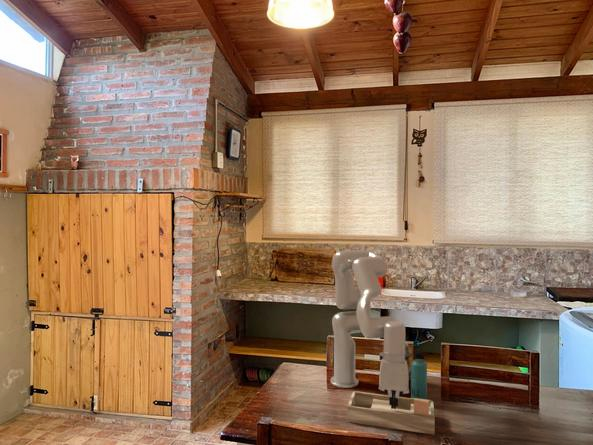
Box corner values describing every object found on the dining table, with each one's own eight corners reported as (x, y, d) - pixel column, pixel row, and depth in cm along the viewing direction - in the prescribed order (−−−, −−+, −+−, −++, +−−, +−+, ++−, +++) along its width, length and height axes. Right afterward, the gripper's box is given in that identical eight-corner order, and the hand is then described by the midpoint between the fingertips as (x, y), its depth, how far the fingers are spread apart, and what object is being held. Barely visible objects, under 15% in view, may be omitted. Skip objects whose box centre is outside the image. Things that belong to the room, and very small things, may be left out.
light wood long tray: (353, 404, 161) (353, 390, 160) (433, 415, 152) (433, 400, 152) (347, 421, 147) (347, 405, 147) (434, 434, 139) (434, 417, 139)
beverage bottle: (427, 399, 166) (427, 350, 166) (427, 406, 160) (427, 355, 160) (411, 397, 168) (411, 348, 168) (409, 403, 162) (410, 353, 162)
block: (413, 412, 146) (413, 398, 146) (428, 414, 145) (428, 400, 145) (413, 418, 142) (413, 404, 142) (428, 420, 140) (428, 406, 140)
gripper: (372, 358, 145) (371, 409, 145) (415, 362, 141) (415, 415, 141) (374, 351, 152) (373, 400, 152) (415, 355, 148) (415, 405, 148)
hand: (393, 407), depth 147 cm, fingers closed
